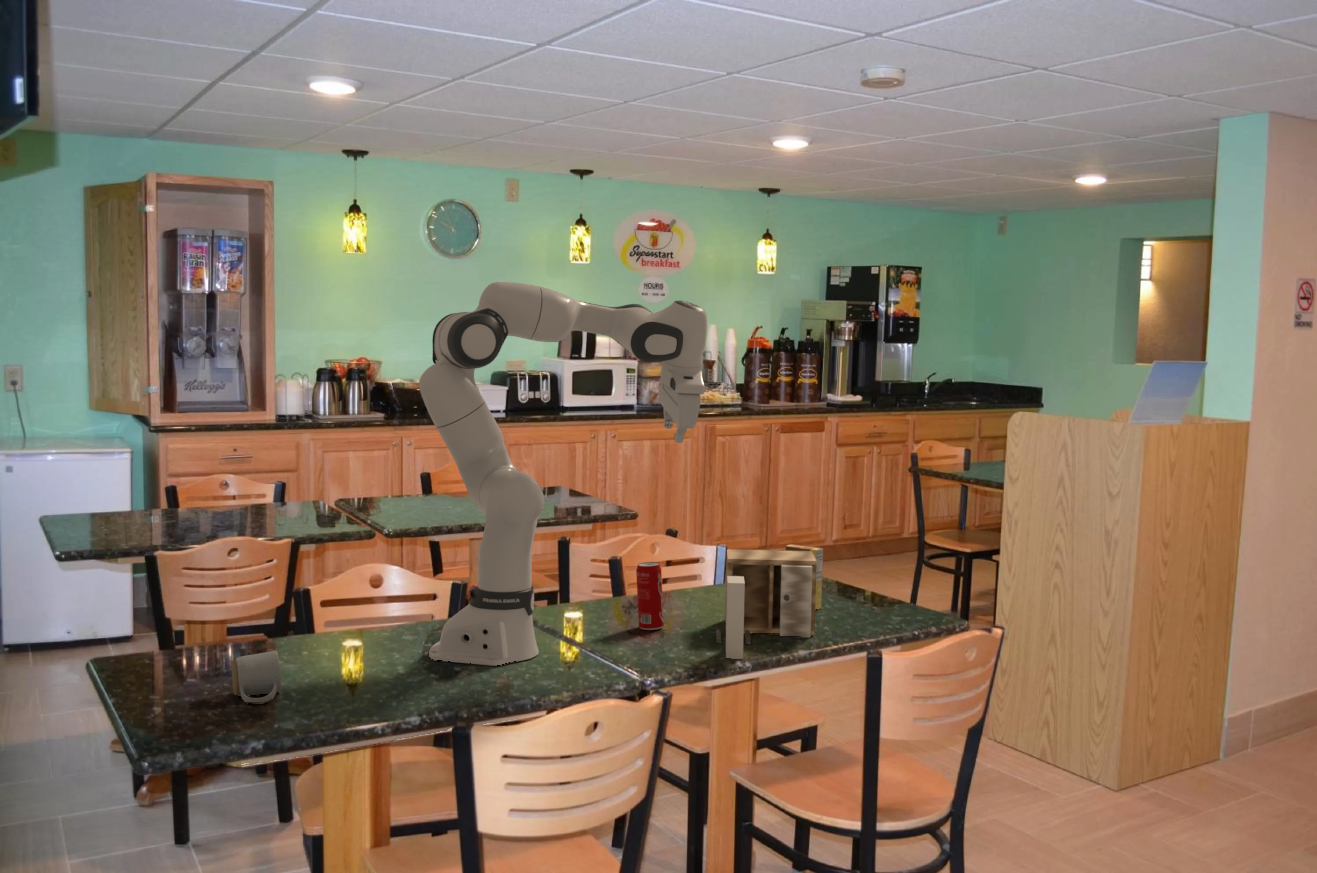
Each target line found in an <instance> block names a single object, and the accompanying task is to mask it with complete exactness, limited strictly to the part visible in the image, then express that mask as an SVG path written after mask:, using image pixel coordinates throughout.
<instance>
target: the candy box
mask: <svg viewBox="0 0 1317 873" xmlns="http://www.w3.org/2000/svg"><path fill="white" fill-rule="evenodd" d="M784 551H812V553H813V555H814V557H815V559H816V561H817V567H816V601H815V611H817V610H820V609H821V608H822V588H823V565H824V563H823V561H824V548H823V547H819V546H818V547H816V546H809V545H800V544H792V543H791V544H787V545H785V547H784ZM816 609H817V610H816Z"/></svg>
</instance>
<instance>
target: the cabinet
mask: <svg viewBox="0 0 1317 873" xmlns="http://www.w3.org/2000/svg"><path fill="white" fill-rule="evenodd" d="M725 565H726V569H725V570H726V573H725V576H726V577H725V607H724V608H725V610H724V611H725V615H724V618H725V619H724V621H725V622H724V623H726V611H727V576H744V582H745V593H744V632H745V633H744V638H745V639H746V640H745V645H746V644H751V643H752V642H751V633H750V632H753V633H771V634H770V635H773V634H772V633H780V635H779V637H780V636H801V637H800V638H811V636H815V630H816V629H815V626H816V623H815V622H816V610H815V601H816V567H817V561H816V559H815V557H814V555H813V553H812V551H785V550H776V549H775V550H774V549H773V550H771V549H769V550H768V549H742V548H741V549H739V548H738V549H735V548H734V549H733V548H732V549H731V548H730V549H729V548H728V549H726V564H725ZM721 632H722V631H721V629H715V642H716V643H721V644H722V634H721ZM810 634H811V635H810ZM716 643H715V644H716Z"/></svg>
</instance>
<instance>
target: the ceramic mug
mask: <svg viewBox="0 0 1317 873" xmlns="http://www.w3.org/2000/svg"><path fill="white" fill-rule="evenodd" d="M280 664H281V663H280V658H279V653H278V650H269V651H266V652H265V651H264V652H259V653H254V654H248V655H242V656H238V657H236V658H234V659H232V660H231V680H232V690H233V694H234V696H236V695H237V696H236V697H238V696H241V699H242V700H243V702H244V703H246V702H264V701H268V700H270V699H272V700H273V699H274V698H275V696H276V695H277V694H276V692H280V693H281V692H282V676H281V675H282V674H281V665H280ZM260 694H268V695H265V696H262V697H252V696H248V695H256V696H261V695H260ZM246 695H247V696H246Z"/></svg>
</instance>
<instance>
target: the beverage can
mask: <svg viewBox="0 0 1317 873" xmlns="http://www.w3.org/2000/svg"><path fill="white" fill-rule="evenodd" d="M635 572H636V573H635V574H636V592H637V593H636V594H637V614H638V617H637V618H638V627H639V628H640V630H645V631H655V630H656V631H657V630H659V629H662V628H663V627H664V625H665V623H664V622H665V621H664V620H665V619H664V603H663V602H664V600H663V599H664V598H663V580H662V579H663V578H662V576H663V574H662V567H661V565H660V563H659V562H657V561H645V562H639V563H638V564H637V567H636V570H635Z"/></svg>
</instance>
